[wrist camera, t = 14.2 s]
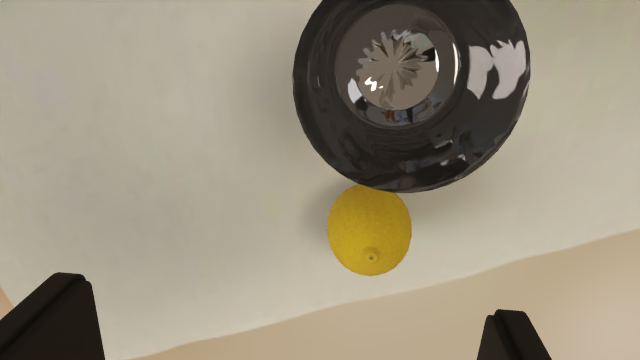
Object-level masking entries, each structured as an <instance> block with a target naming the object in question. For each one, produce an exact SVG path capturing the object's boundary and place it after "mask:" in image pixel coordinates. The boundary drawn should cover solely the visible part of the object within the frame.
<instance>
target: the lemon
mask: <svg viewBox="0 0 640 360" xmlns="http://www.w3.org/2000/svg"><path fill="white" fill-rule="evenodd" d="M327 235H328V239H329V243H330V247H331V249H332V251H333V253H334V254H335V256H336V258H337V259H338V260H339V261H340V262H341V264H342V265H343V266H344V267H346V268H347V269H349V270H350V271H352V272H355V273H358V274H361V275H367V276H373V275H380V274H383V273H386V272H388V271H390V270H391V269H393V268H395V267H396V266H397V265H398V264H399V263H400V262H401V261H402V260H403V258H404V256H405V254H406V253H407V251H408V248H409V244H410V240H411V219H410V216H409V213H408V210H407V208H406V206H405V205H404V203H403V202H402V200H401V199H400V198H399V197H398V196H397V195H396V194H395V193H392V192H386V191H381V190H376V189H372V188H369V187H367V186H364V185H361V184H360V185H356V186H353V187H351V188H349V189H347V190H346V191H345V192H344V193H342V194H341V195H340V196H339V197H338V198H337V200H336V201H335V203H334V204H333V206H332V208H331V210H330V213H329V216H328V222H327Z"/></svg>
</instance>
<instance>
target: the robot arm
mask: <svg viewBox="0 0 640 360" xmlns="http://www.w3.org/2000/svg"><path fill="white" fill-rule="evenodd" d="M0 360H105V356H104V350H103V345H102V339H101V334H100V328H99V323H98V317H97V312H96V306H95V301H94V295H93V290H92V285H91V283H90V282H89V281H86V279H85V277H84V276H83V275H81V274H72V273H60V272H58V273H55V274H53V275H51V276H50V277H49V278H48V279H47V280H46V281H45V282H43V283H42V284H41V285H40V286H39V287H38V288H37V289H35V290H34V291H33V292H32V293H31V294H30V295H29V296H27V297H26V298H25V299H24V300H23V301H22V302H20V303H19V304H18V305H17V306H16V307H15V308H14V309H13V310H11V311H10V312H9V313H8V314H7V315H6V316H4V318H2V319H1V320H0ZM477 360H552V359H551V357H550V356H549V354H548V352H547V350H546V348H545V347H544V345H543V343H542V341H541V339H540V338H539V336H538V334H537V332H536V330H535V329H534V327H533V325H532V323H531V321H530V319H529V318H528V316H527V315H526V313H525V312H523V311H513V310H501V309H498V310H496V312H495V314H494V315H488V316H487V318H486V321H485V326H484V330H483V335H482V339H481V344H480V348H479V352H478V357H477Z"/></svg>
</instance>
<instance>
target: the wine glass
mask: <svg viewBox="0 0 640 360" xmlns="http://www.w3.org/2000/svg"><path fill="white" fill-rule="evenodd" d="M529 80H530V51H529V46H528V41H527V37H526V32H525V30H524V27H523V25H522V22H521V20H520V18H519V15H518V13H517V11H516V10H515V8H514V7H513V5H512V4H511V2H510V1H509V0H322V2H321V3H320V4H319V6H318V7H317V8H316V10H315V11H314V12H313V14H312V15H311V17H310V19H309V21H308V23H307V25H306V27H305V29H304V31H303V33H302V35H301V38H300V41H299V44H298V48H297V51H296V54H295V61H294V68H293V96H294V101H295V106H296V111H297V115H298V118H299V120H300V123H301V125H302V128H303V130H304V133H305V134H306V136H307V138H308V139H309V141H310V142H311V144H312V146H313V147H314V149H315V150H316V151H317V152H318V153H319V155H320V156H321V157H322V158H323V159H324V160H325V161H326V162H327V163H328V164H329V165H330V166H331V167H333V168H334V169H335V170H336V171H338V172H339V173H340V174H342V175H343V176H345V177H347V178H349V179H351V180H352V181H354V182H356V183H358V184H361V185H364V186H367V187H369V188H372V189H376V190H381V191H386V192H392V193H415V192H422V191H429V190H433V189H436V188H440V187H443V186H446V185H449V184H451V183H453V182H455V181H457V180H459V179H462V178H464V177H466V176H467V175H469V174H470V173H472V172H473V171H475V170H476V169H478V168H479V167H480V166H482V165H483V164H484V163H485V162H486V161H487V160H488V159H490V158H491V157H492V156H493V155H494V154H495V153H496V152H497V151H498V150H499V148H500V147H501V146H502V144H503V143H504V142H505V141H506V139H507V138H508V137H509V135H510V134H511V132H512V130H513V128H514V126H515V125H516V123H517V121H518V119H519V117H520V115H521V112H522V109H523V106H524V103H525V100H526V97H527V93H528V87H529Z"/></svg>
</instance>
